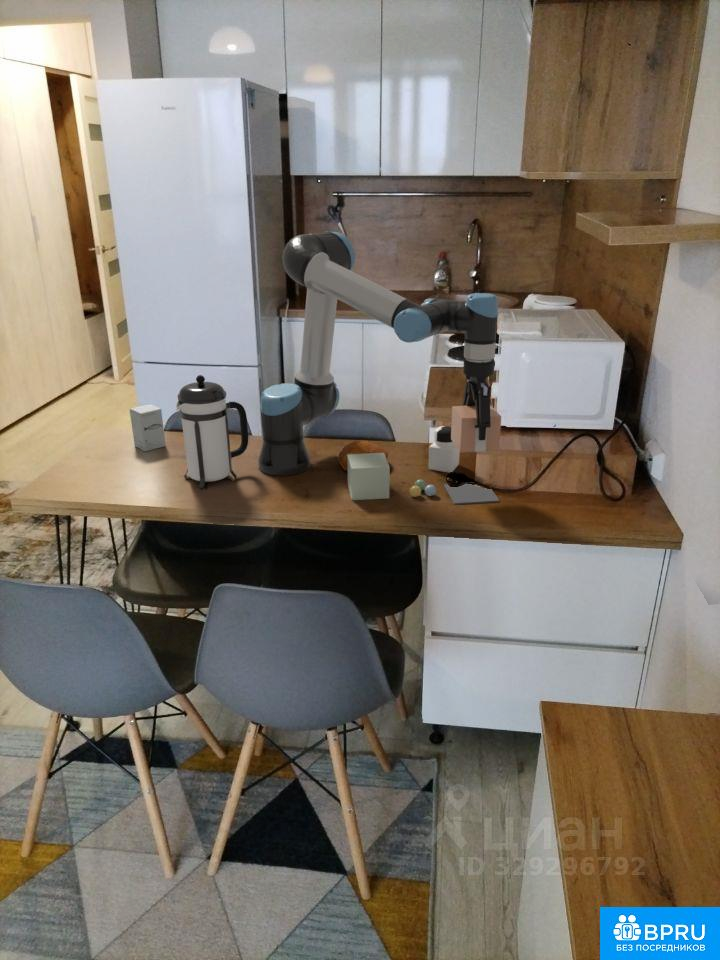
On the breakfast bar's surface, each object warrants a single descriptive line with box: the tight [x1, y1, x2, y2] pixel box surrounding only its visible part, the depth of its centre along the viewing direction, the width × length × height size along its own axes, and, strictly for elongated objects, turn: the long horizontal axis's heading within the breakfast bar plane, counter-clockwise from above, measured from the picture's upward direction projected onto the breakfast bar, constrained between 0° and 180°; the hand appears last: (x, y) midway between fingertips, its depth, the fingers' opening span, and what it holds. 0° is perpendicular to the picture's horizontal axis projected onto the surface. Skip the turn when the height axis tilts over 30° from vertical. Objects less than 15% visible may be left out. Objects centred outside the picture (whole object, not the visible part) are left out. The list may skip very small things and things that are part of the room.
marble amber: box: [409, 485, 422, 498], centre depth 183 cm, size 3×3×3 cm
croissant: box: [338, 439, 389, 472], centre depth 202 cm, size 14×16×8 cm
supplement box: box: [129, 403, 167, 453], centre depth 216 cm, size 7×7×13 cm
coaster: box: [443, 482, 500, 505], centre depth 185 cm, size 12×12×1 cm
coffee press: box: [175, 374, 249, 490], centre depth 190 cm, size 17×16×30 cm
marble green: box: [414, 478, 427, 491], centre depth 186 cm, size 3×3×3 cm
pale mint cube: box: [347, 453, 391, 501], centre depth 185 cm, size 10×10×9 cm
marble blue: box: [424, 484, 437, 497], centre depth 183 cm, size 3×3×3 cm
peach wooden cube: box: [450, 404, 502, 453], centre depth 177 cm, size 10×10×9 cm
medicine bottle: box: [428, 425, 461, 474], centre depth 199 cm, size 7×7×12 cm
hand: (474, 443), depth 179 cm, fingers closed on peach wooden cube, 10 cm apart
